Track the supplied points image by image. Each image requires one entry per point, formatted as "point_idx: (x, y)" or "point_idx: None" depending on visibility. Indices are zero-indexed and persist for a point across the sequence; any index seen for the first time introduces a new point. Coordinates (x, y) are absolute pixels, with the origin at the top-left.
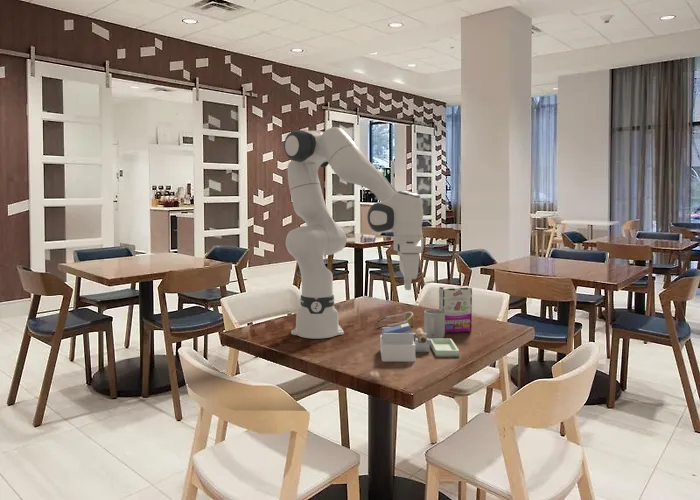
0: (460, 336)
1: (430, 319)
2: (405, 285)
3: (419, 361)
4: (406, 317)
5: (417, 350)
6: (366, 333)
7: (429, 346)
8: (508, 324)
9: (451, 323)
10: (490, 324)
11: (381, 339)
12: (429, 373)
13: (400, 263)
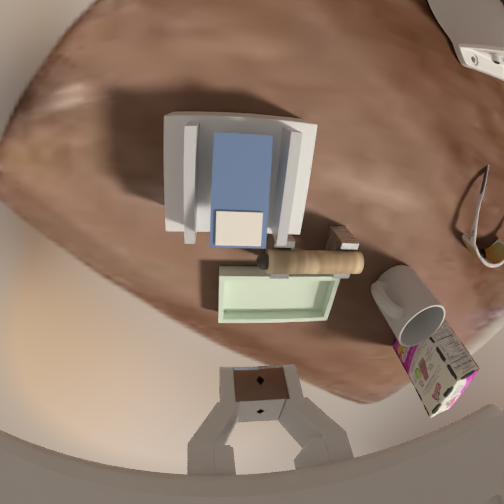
0: (373, 329)
1: (394, 308)
2: (221, 394)
3: None
4: (501, 248)
5: None
6: (461, 126)
7: None
8: (403, 385)
9: None
10: None
11: (247, 118)
12: (84, 232)
13: (465, 483)
